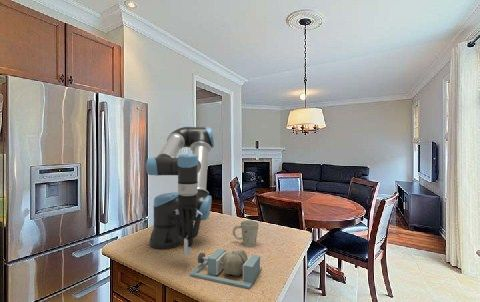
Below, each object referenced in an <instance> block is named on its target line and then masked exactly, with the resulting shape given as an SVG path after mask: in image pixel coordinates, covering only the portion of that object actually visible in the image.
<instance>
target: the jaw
mask: <svg viewBox="0 0 480 302" xmlns="http://www.w3.org/2000/svg"><path fill="white" fill-rule="evenodd" d="M227 252H228V251H227V250H226V249H224V248H217V249H216V250H215V251H214V252H213V253H211V254H210V255H209V256H208V257H207V256H206V253H205V252H200V253H198V256H197V263H198V264H201V263H203V262H204V261H208V264H207V275H210V276H215V277H217V276H218V275H219V274H220V273H221V272H222V271H223V270H224V268H223V265H221V262H222V263H223V260H224V256H225V254H226V253H227Z"/></svg>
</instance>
